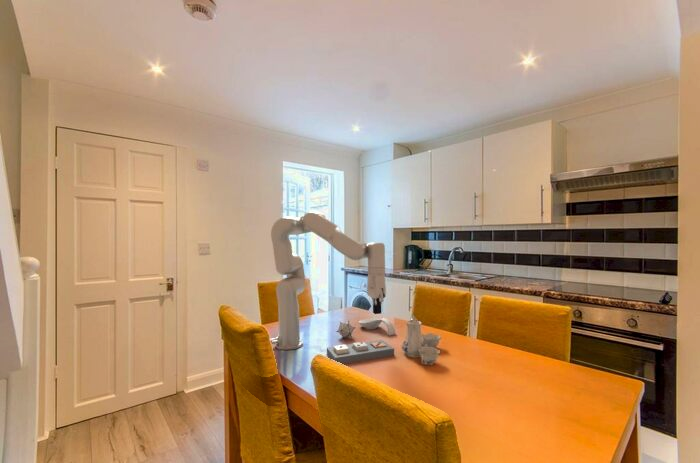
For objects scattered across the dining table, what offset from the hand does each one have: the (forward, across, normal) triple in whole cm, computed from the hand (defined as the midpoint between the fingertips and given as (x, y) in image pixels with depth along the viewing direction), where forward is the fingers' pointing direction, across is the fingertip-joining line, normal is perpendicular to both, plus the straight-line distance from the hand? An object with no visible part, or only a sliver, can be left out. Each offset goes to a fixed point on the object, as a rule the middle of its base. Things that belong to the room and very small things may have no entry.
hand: (377, 313), depth 140 cm
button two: (+15, 0, -8) cm, 17 cm away
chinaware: (+17, +9, +16) cm, 25 cm away
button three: (+16, 0, 0) cm, 16 cm away
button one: (+15, 0, -17) cm, 22 cm away
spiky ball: (+17, -24, -6) cm, 30 cm away
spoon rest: (+17, -30, +14) cm, 37 cm away
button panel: (+17, 0, -8) cm, 19 cm away
